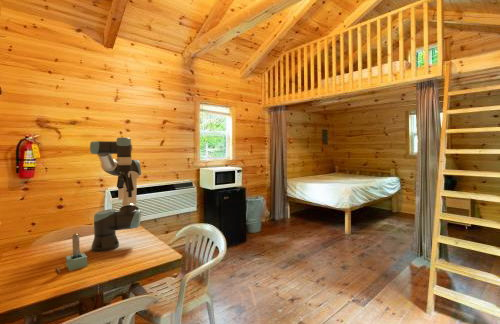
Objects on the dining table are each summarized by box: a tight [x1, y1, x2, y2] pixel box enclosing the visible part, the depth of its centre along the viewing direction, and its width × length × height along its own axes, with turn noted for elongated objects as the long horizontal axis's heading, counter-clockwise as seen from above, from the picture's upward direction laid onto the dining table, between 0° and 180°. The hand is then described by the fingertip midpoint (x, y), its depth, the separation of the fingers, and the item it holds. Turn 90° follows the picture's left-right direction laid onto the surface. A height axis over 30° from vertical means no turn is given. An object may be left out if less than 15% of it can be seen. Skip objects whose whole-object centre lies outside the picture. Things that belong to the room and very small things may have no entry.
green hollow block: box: [65, 252, 88, 272], centre depth 138 cm, size 8×8×5 cm
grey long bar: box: [71, 233, 81, 259], centre depth 138 cm, size 3×3×17 cm
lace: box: [55, 266, 62, 274], centre depth 133 cm, size 8×1×1 cm, turn 45°
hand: (125, 201), depth 151 cm, fingers open, 13 cm apart
